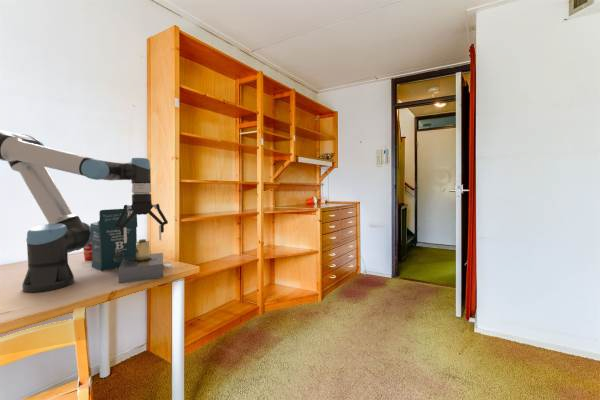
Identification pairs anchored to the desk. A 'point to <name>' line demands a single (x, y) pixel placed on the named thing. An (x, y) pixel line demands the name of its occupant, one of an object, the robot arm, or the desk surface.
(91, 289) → the desk surface
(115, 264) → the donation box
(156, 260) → the housing
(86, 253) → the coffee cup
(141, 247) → the tan upright cylinder
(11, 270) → the desk surface
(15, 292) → the desk surface
